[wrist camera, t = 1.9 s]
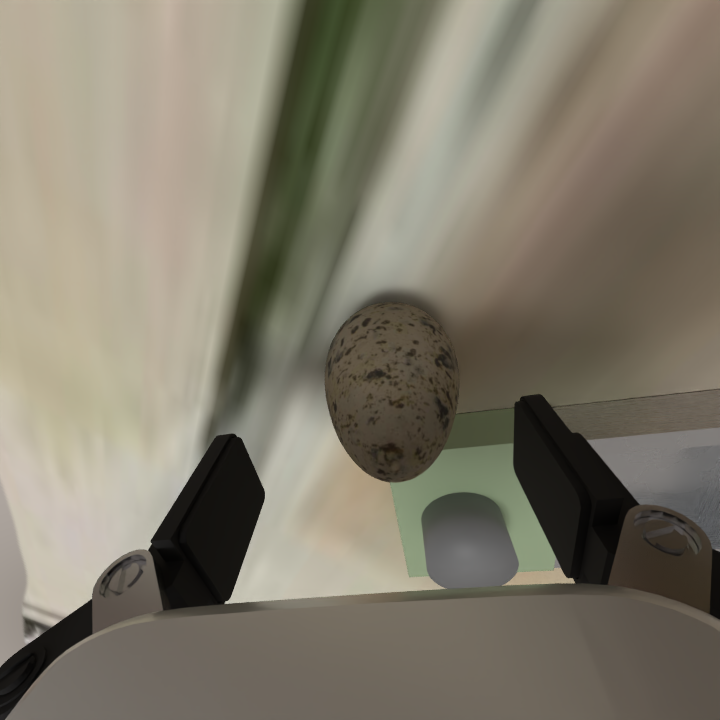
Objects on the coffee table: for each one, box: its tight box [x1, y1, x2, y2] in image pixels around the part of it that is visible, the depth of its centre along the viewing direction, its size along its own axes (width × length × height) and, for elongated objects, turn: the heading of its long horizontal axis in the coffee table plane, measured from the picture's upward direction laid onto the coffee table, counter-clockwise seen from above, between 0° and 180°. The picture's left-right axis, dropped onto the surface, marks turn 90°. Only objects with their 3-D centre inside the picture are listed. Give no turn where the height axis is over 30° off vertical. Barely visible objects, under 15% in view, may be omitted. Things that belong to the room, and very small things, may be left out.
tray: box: [553, 389, 720, 568], centre depth 21 cm, size 11×11×3 cm
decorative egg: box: [325, 302, 459, 483], centre depth 15 cm, size 6×6×10 cm
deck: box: [390, 408, 556, 589], centre depth 21 cm, size 10×12×6 cm
